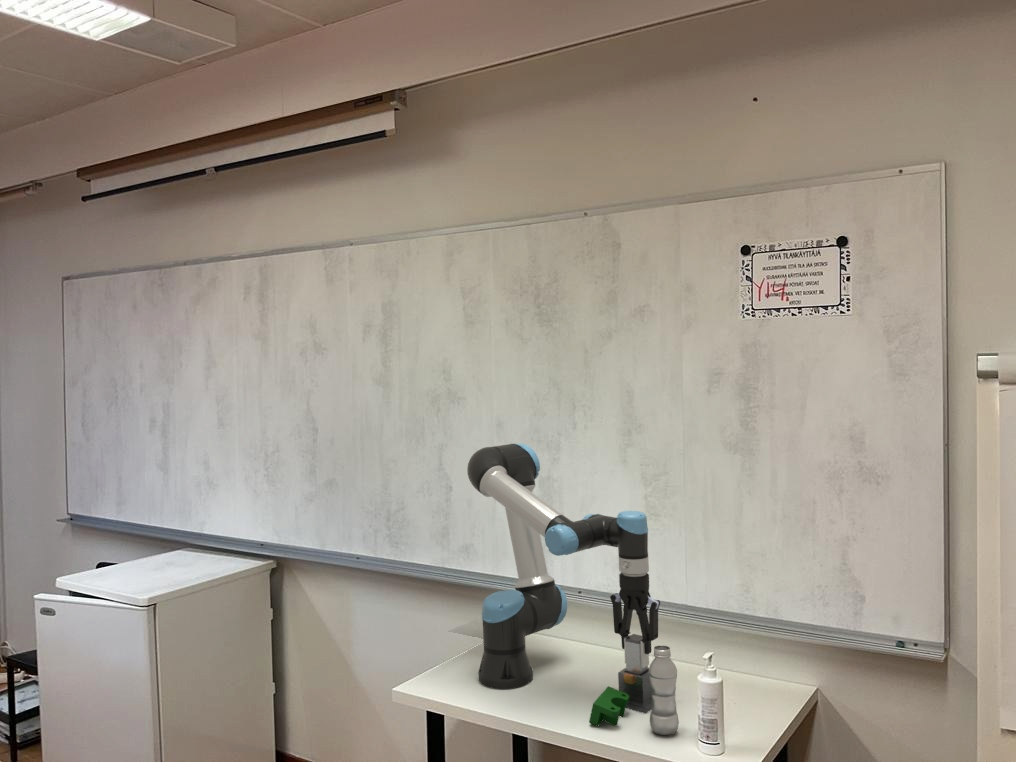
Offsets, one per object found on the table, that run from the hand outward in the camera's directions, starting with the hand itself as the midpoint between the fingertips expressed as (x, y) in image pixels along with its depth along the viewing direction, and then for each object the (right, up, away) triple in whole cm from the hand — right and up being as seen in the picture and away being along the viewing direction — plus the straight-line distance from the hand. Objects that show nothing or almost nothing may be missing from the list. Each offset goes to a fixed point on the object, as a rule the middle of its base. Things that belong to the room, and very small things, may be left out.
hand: (636, 663), depth 211 cm
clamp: (-8, -11, -9) cm, 16 cm away
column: (0, -8, 0) cm, 8 cm away
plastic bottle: (+4, -10, -17) cm, 21 cm away
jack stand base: (0, -10, 0) cm, 10 cm away
